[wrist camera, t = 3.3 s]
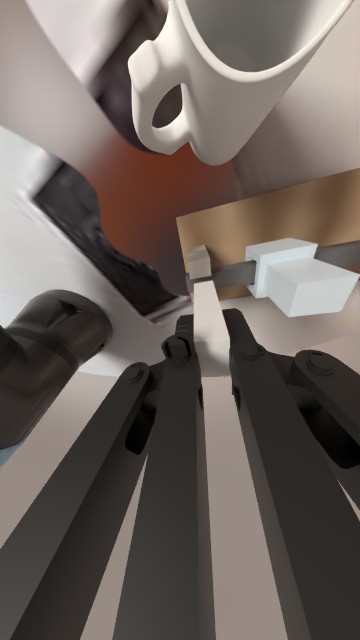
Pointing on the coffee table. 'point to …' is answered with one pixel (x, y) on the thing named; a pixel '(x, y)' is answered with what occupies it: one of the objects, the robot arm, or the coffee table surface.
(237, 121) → the mug
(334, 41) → the coffee table surface
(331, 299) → the white stepped block
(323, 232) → the din rail terminal board
